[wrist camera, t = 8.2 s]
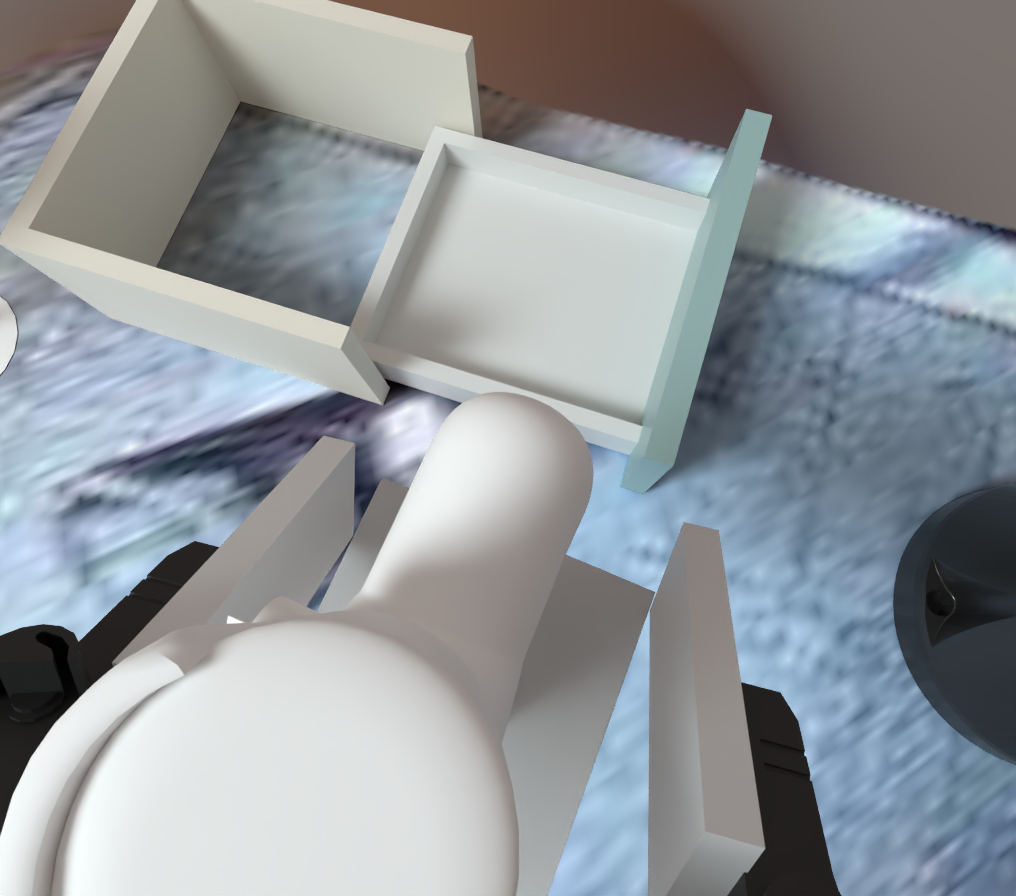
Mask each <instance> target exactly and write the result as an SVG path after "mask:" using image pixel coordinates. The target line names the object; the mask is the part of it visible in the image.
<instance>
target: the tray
mask: <svg viewBox="0 0 1016 896" xmlns="http://www.w3.org/2000/svg"><path fill="white" fill-rule="evenodd" d="M771 118H772V115H769V114H765V113H760V112H757V111H753V110H749V109H746V111H745V113H744V115H743V118H742V120H741V122H740V124H739V127H738V129H737V131H736V133H735V136H734V138H733V140H732V142H731V145H730V147H729V149H728V151H727V154H726V156H725V158H724V160H723V163H722V165H721V167H720V169H719V172H718V174H717V176H716V178H715V181H714V183H713V185H712V187H711V190H710V192H709V194H708V196H707V198H705V197H701V196H698V195H694V194H690V193H686V192H682V191H679V190H675V189H671V188H667V187H664V186H660V185H656V184H652V183H649V182H645V181H641V180H637V179H633V178H630V177H626V176H622V175H618V174H615V173H611V172H607V171H603V170H600V169H596V168H592V167H588V166H585V165H581V164H577V163H573V162H569V161H566V160H562V159H558V158H554V157H551V156H547V155H543V154H539V153H536V152H532V151H528V150H524V149H520V148H517V147H513V146H509V145H505V144H502V143H498V142H494V141H490V140H487V139H483V138H479V137H475V136H472V135H468V134H464V133H460V132H456V131H453V130H449V129H445V128H441V127H438V126H435V127H434V129H433V132H432V134H431V136H430V139H429V141H428V144H427V146H426V148H425V151H424V153H423V155H422V158H421V160H420V162H419V165H418V167H417V170H416V172H415V174H414V177H413V179H412V181H411V184H410V186H409V189H408V191H407V193H406V196H405V198H404V200H403V203H402V205H401V207H400V210H399V212H398V215H397V217H396V219H395V222H394V224H393V226H392V229H391V231H390V233H389V236H388V238H387V241H386V243H385V245H384V248H383V250H382V252H381V255H380V257H379V260H378V262H377V264H376V267H375V269H374V271H373V274H372V276H371V278H370V281H369V283H368V286H367V288H366V290H365V293H364V295H363V297H362V300H361V302H360V305H359V307H358V309H357V312H356V314H355V316H354V319H353V321H352V323H351V326H350V328H351V330H352V331H353V333H354V334H355V336H356V337H357V339H358V340H359V342H360V343H361V345H362V346H363V348H364V349H365V351H366V352H367V354H368V355H369V357H370V358H371V360H372V361H373V363H374V364H375V366H376V367H377V369H378V370H379V372H380V373H381V375H382V377H383V378H385V379H388V380H391V381H394V382H398V383H401V384H404V385H407V386H410V387H414V388H417V389H420V390H423V391H426V392H429V393H433V394H436V395H439V396H442V397H445V398H449V399H452V400H455V401H458V402H461V403H463V402H465V401H467V400H469V399H471V398H473V397H475V396H477V395H480V394H484V393H491V392H509V393H515V394H520V395H524V396H527V397H530V398H534V399H536V400H538V401H540V402H543V403H545V404H547V405H549V406H550V407H552V408H553V409H555V410H557V411H558V412H560V413H561V414H562V415H563V416H565V417H566V418H567V419H568V420H569V421H570V422H572V423H573V424H574V426H575V427H576V428H577V429H578V430H579V431H580V433H581V434H582V436H583V438H584V440H585V441H586V442H589V443H592V444H595V445H598V446H601V447H605V448H608V449H611V450H614V451H617V452H621V453H624V454H627V455H629V458H628V461H627V464H626V468H625V471H624V474H623V478H622V481H621V484H620V487H623V488H626V489H629V490H632V491H635V492H638V493H641V494H643V493H644V492H646V491H647V490H648V489H649V488H650V487H651V486H652V485H653V484H654V483H655V482H656V481H658V480H659V479H660V478H661V477H662V476H663V475H664V474H665V473H666V472H667V471H668V470H670V469H671V468H672V467H673V466H674V463H675V459H676V456H677V452H678V448H679V445H680V441H681V438H682V434H683V431H684V427H685V424H686V420H687V417H688V413H689V409H690V406H691V402H692V399H693V395H694V392H695V388H696V385H697V381H698V378H699V374H700V370H701V367H702V363H703V360H704V356H705V353H706V349H707V346H708V342H709V338H710V335H711V331H712V328H713V324H714V321H715V317H716V314H717V310H718V307H719V303H720V299H721V296H722V292H723V289H724V285H725V282H726V278H727V275H728V271H729V267H730V264H731V260H732V257H733V253H734V250H735V246H736V243H737V239H738V236H739V232H740V228H741V225H742V221H743V218H744V214H745V211H746V207H747V204H748V200H749V197H750V193H751V189H752V186H753V182H754V179H755V175H756V172H757V168H758V165H759V161H760V157H761V154H762V150H763V147H764V143H765V140H766V136H767V133H768V129H769V126H770V122H771Z"/></svg>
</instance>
